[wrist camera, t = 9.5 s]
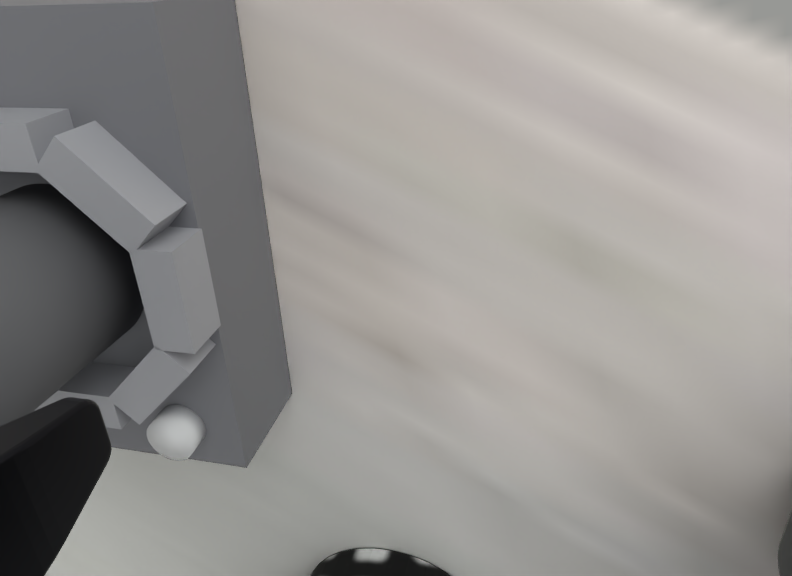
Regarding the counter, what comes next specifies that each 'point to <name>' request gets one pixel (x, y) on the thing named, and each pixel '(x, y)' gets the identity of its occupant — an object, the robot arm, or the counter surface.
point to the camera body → (156, 209)
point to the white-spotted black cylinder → (375, 564)
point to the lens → (56, 295)
